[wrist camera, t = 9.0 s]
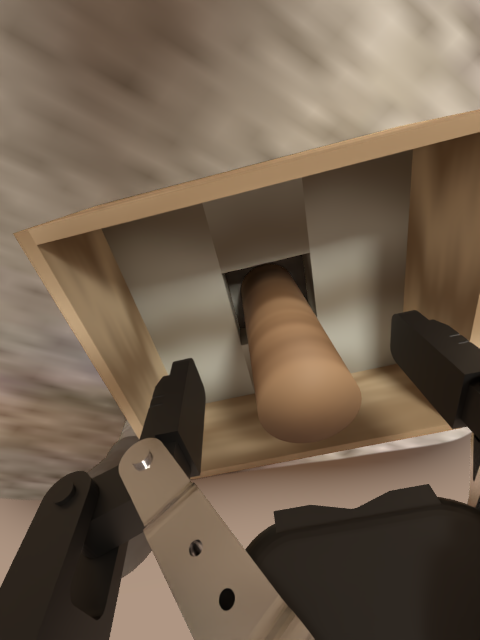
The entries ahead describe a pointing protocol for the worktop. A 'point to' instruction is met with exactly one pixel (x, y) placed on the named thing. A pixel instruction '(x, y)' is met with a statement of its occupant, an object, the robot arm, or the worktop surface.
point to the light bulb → (138, 544)
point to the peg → (294, 362)
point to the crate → (267, 246)
